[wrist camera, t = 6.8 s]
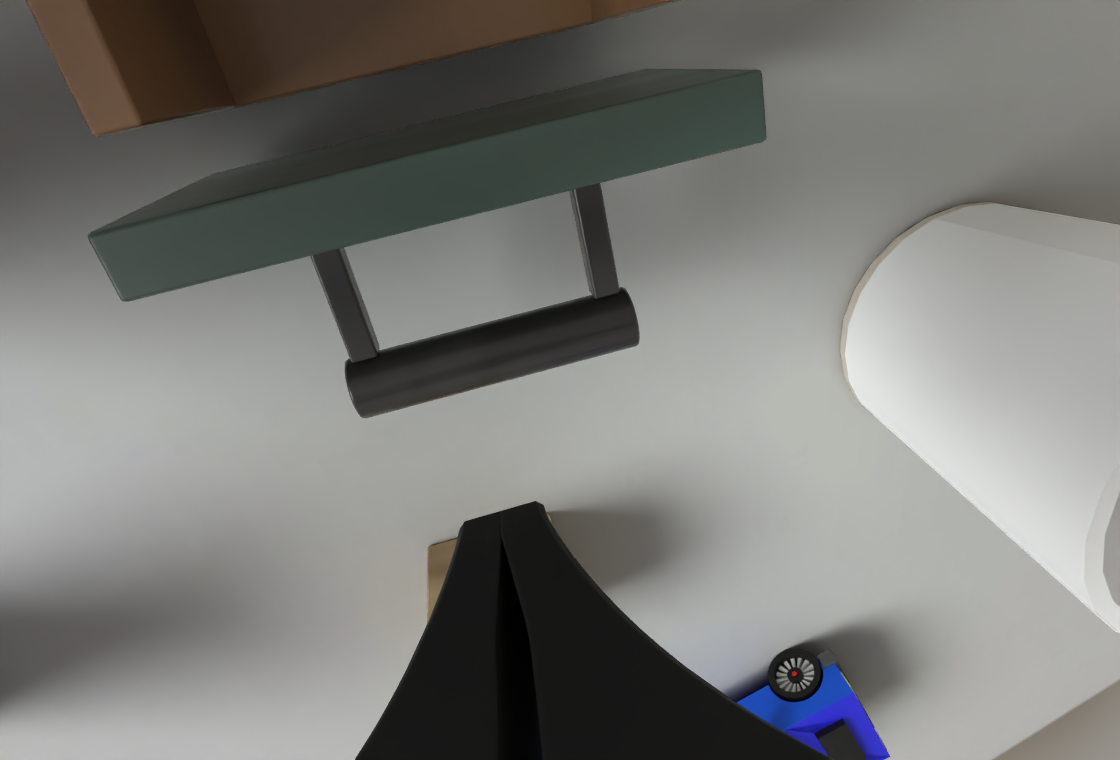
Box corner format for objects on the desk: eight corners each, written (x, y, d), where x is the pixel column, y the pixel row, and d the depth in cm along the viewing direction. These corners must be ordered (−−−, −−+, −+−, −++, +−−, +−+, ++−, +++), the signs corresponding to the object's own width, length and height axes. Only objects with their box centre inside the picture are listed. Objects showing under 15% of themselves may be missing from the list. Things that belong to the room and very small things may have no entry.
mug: (896, 475, 26) (1153, 701, 17) (775, 318, 22) (1019, 496, 13) (1150, 281, 24) (1595, 413, 15) (1064, 75, 20) (1585, 81, 11)
